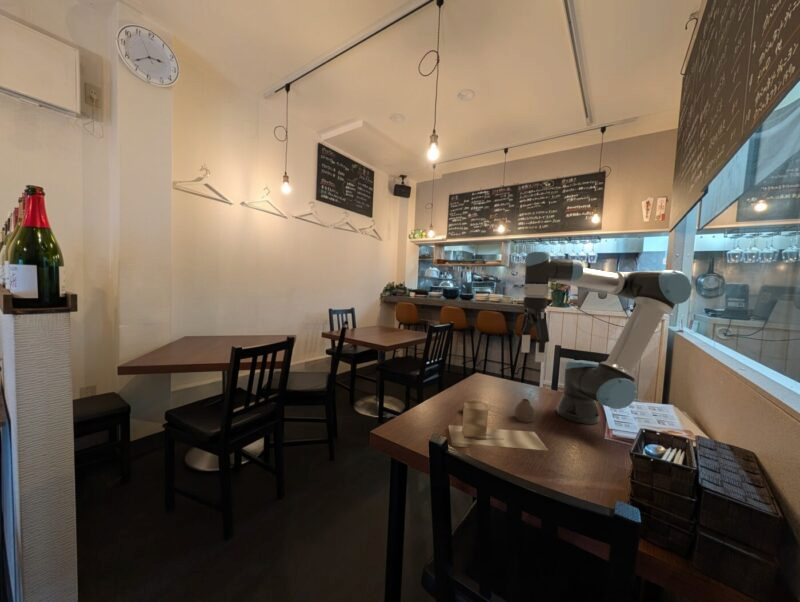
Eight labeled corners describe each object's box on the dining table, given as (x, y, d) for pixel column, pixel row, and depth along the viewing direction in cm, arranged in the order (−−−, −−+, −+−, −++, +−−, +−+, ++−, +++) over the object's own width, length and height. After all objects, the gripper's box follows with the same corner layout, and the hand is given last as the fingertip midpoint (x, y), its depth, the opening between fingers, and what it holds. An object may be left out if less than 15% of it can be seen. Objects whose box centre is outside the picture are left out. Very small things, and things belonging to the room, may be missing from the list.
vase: (511, 421, 119) (513, 399, 118) (518, 416, 124) (520, 395, 123) (529, 428, 114) (531, 404, 114) (536, 422, 119) (538, 400, 119)
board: (534, 435, 109) (534, 432, 109) (548, 454, 97) (548, 450, 97) (448, 428, 110) (448, 425, 110) (452, 445, 98) (452, 442, 98)
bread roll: (483, 432, 117) (494, 414, 116) (459, 417, 118) (469, 400, 117) (481, 420, 127) (491, 404, 125) (459, 407, 128) (469, 391, 127)
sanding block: (482, 432, 106) (484, 404, 106) (485, 439, 101) (488, 410, 101) (462, 430, 107) (464, 402, 106) (464, 438, 102) (466, 408, 101)
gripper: (513, 294, 120) (510, 348, 122) (538, 298, 95) (534, 365, 97) (533, 295, 120) (529, 349, 121) (563, 299, 95) (559, 367, 96)
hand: (532, 356), depth 109 cm, fingers open, 13 cm apart
